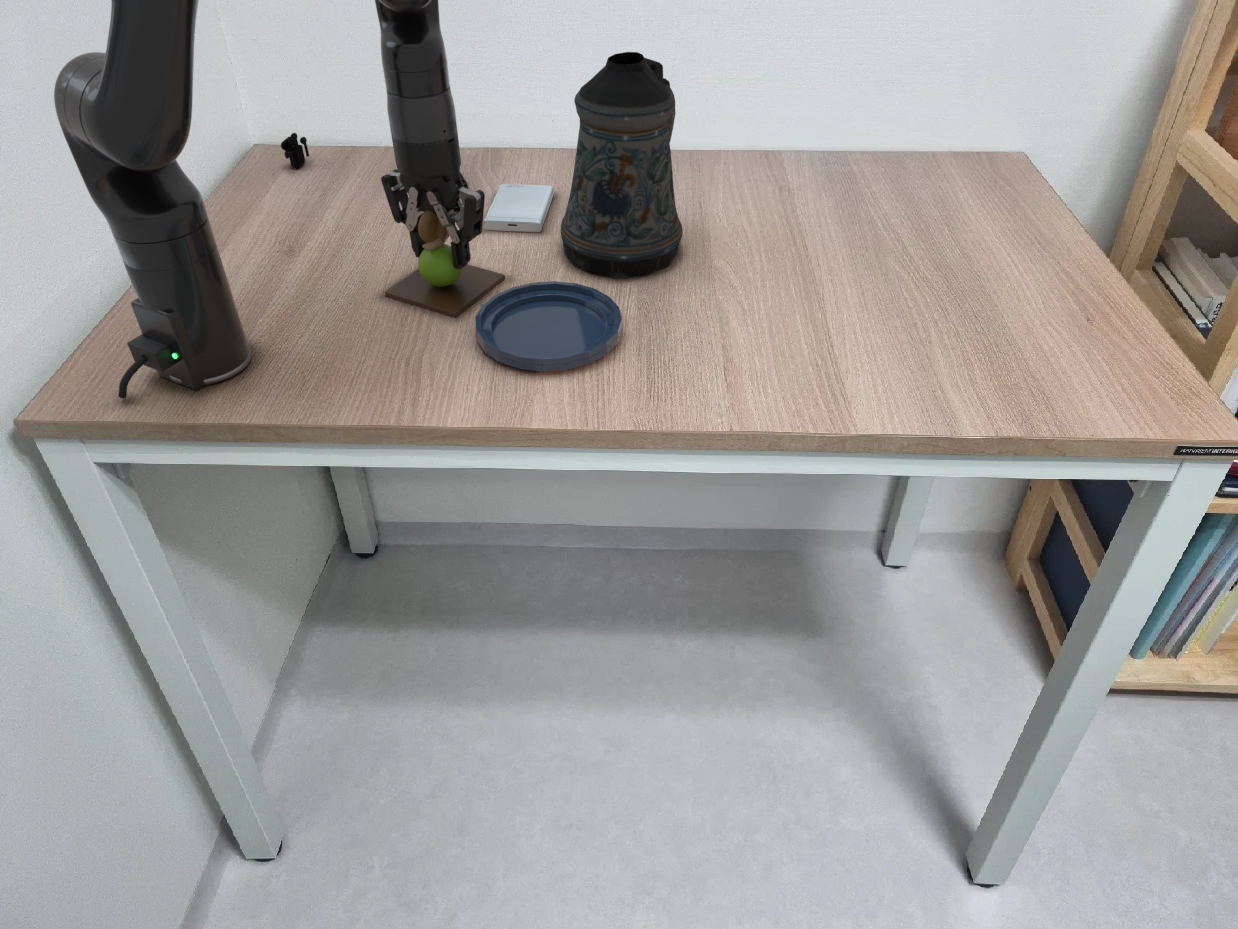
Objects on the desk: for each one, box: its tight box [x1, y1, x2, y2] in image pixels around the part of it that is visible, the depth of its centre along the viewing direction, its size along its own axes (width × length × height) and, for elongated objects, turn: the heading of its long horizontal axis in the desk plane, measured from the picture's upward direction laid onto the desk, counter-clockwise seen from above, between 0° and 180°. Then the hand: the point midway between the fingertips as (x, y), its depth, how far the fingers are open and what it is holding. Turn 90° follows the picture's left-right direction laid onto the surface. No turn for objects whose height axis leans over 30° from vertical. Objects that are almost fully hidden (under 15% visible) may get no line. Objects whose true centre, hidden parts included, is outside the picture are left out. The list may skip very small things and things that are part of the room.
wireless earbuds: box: [280, 132, 310, 170], centre depth 146 cm, size 7×2×5 cm, turn 169°
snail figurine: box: [417, 210, 462, 287], centre depth 114 cm, size 5×6×12 cm
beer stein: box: [559, 51, 683, 280], centre depth 119 cm, size 16×19×25 cm
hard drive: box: [483, 183, 555, 233], centre depth 134 cm, size 2×8×12 cm
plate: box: [474, 280, 623, 372], centre depth 109 cm, size 17×17×2 cm
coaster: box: [384, 263, 506, 318], centre depth 118 cm, size 11×11×1 cm
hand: (442, 260), depth 116 cm, fingers closed on snail figurine, 5 cm apart
